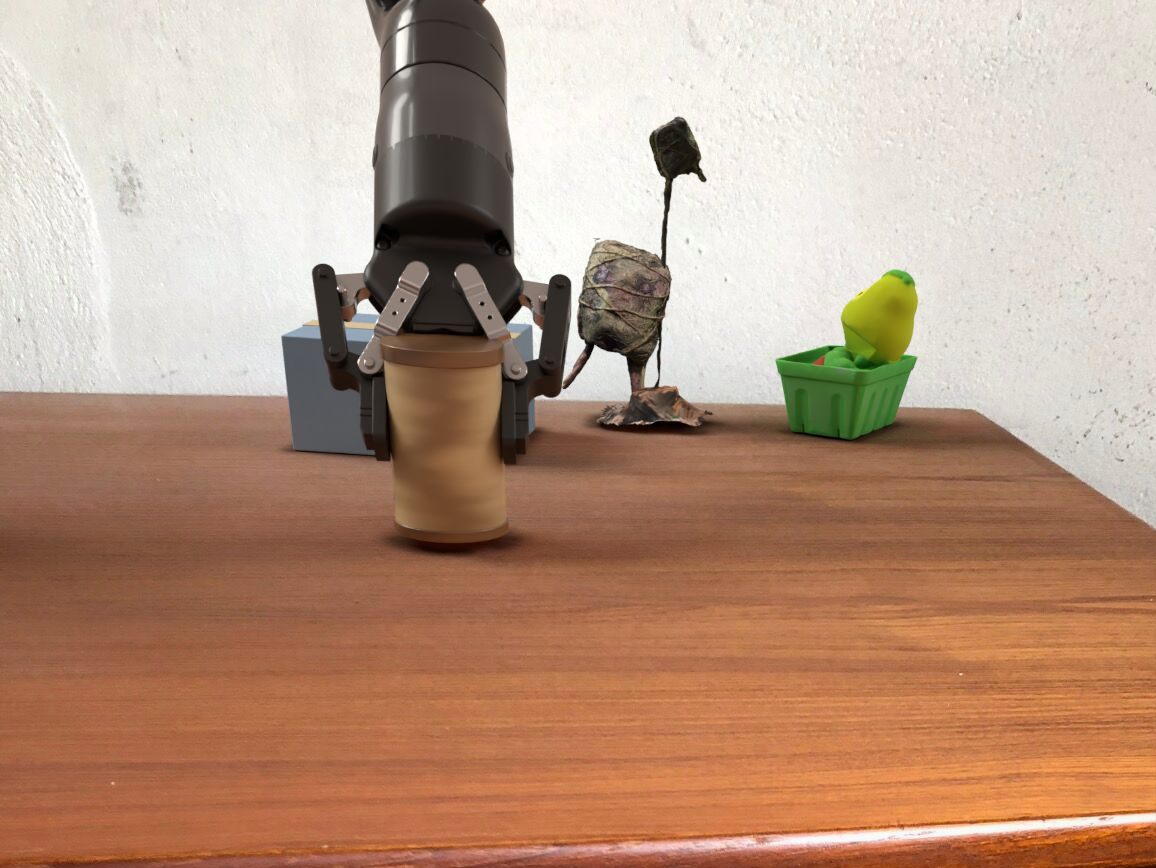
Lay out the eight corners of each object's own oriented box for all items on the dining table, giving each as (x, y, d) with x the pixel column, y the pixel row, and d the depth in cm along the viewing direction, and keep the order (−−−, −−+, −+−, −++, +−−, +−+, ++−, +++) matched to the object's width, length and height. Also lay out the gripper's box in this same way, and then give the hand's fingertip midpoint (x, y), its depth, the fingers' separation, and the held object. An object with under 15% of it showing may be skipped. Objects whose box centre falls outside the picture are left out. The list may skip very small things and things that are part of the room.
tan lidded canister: (378, 539, 80) (363, 346, 75) (408, 511, 86) (396, 329, 81) (498, 547, 80) (490, 355, 75) (520, 518, 86) (514, 337, 81)
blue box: (291, 450, 100) (278, 334, 96) (343, 416, 110) (333, 310, 106) (504, 464, 99) (500, 348, 96) (536, 429, 110) (534, 323, 106)
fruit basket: (825, 410, 122) (836, 255, 116) (928, 425, 119) (945, 266, 113) (767, 432, 113) (775, 265, 107) (876, 448, 110) (891, 278, 104)
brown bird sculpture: (592, 406, 118) (589, 109, 108) (727, 422, 116) (738, 119, 105) (547, 423, 112) (540, 108, 101) (690, 440, 109) (697, 119, 99)
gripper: (575, 239, 88) (582, 498, 84) (321, 227, 86) (316, 491, 82) (576, 137, 80) (583, 415, 77) (298, 121, 78) (291, 405, 75)
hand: (445, 453), depth 79 cm, fingers closed on tan lidded canister, 6 cm apart
